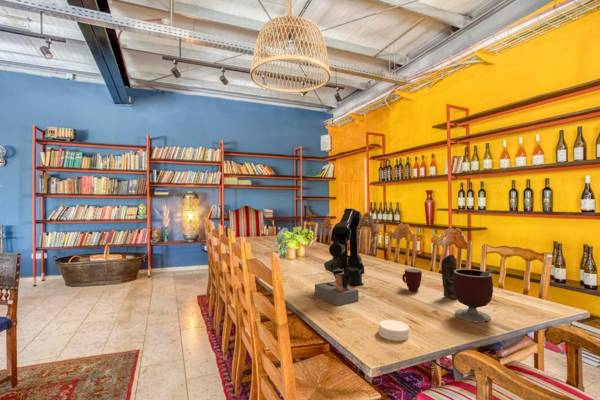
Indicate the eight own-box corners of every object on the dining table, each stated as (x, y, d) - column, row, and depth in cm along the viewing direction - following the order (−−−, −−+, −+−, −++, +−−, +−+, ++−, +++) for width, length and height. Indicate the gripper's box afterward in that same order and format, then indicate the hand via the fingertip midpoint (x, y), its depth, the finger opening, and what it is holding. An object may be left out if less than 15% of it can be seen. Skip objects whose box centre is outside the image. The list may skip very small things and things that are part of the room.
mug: (397, 288, 159) (397, 269, 159) (406, 286, 164) (406, 267, 164) (416, 293, 151) (416, 273, 151) (424, 290, 156) (424, 270, 156)
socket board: (335, 291, 156) (335, 281, 156) (358, 301, 140) (358, 290, 140) (314, 294, 150) (314, 284, 150) (336, 305, 134) (336, 294, 134)
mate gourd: (445, 313, 124) (444, 263, 124) (466, 307, 131) (465, 260, 131) (484, 327, 110) (483, 271, 110) (505, 320, 117) (505, 267, 117)
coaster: (379, 327, 111) (379, 317, 111) (408, 330, 108) (408, 320, 108) (378, 339, 102) (377, 329, 102) (410, 343, 99) (410, 332, 99)
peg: (342, 292, 144) (342, 272, 144) (347, 294, 140) (347, 274, 140) (335, 293, 142) (335, 273, 142) (340, 295, 138) (340, 275, 138)
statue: (454, 300, 140) (453, 256, 141) (440, 296, 147) (440, 253, 147) (463, 298, 144) (463, 254, 144) (450, 294, 150) (449, 252, 150)
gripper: (315, 251, 145) (315, 284, 145) (339, 258, 129) (339, 295, 129) (335, 249, 151) (335, 281, 151) (360, 255, 134) (360, 291, 134)
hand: (341, 287), depth 141 cm, fingers closed on peg, 4 cm apart
